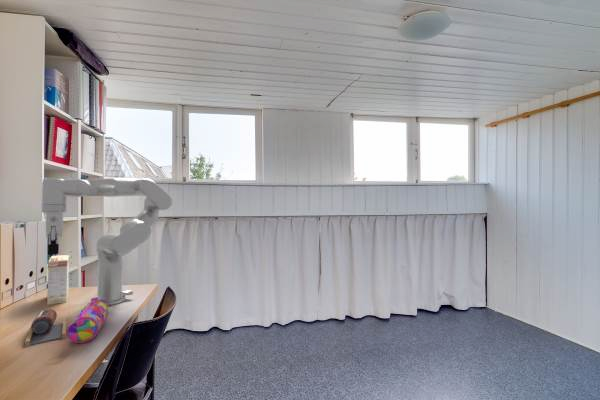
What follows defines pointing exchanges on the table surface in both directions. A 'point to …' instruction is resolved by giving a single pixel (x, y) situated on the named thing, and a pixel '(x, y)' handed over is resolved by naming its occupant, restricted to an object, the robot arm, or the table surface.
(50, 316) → the supplement bottle
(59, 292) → the coffeecake box
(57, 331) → the cradle mat
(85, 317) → the pencil case
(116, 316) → the table surface
